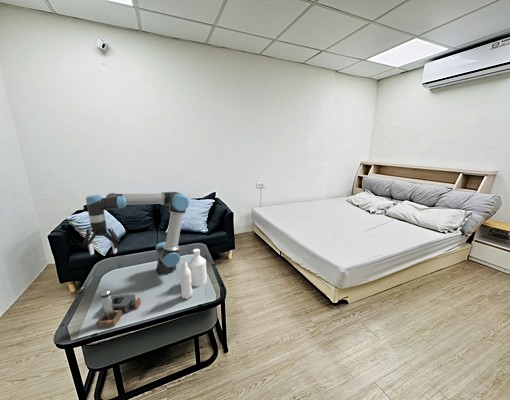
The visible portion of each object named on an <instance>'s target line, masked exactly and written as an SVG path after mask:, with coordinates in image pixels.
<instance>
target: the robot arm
mask: <svg viewBox="0 0 510 400" xmlns="http://www.w3.org/2000/svg"><path fill="white" fill-rule="evenodd" d="M189 200H190V199H189V197H188V196H187V195H185V194H183V193H180V192H178V191H166V192H164V191H163V192H161V193H115V192H110V193H108V194H107V195H106V196H105V197H102V195H100V194H94V195H93V194H92V195H88V196H86V198H85V202H86V208H87V212H88V213H87V214H88V218H89V222H90V228H87V229H86V231H85V232H86V234H85V236H84V238H83V239H84V240H83V242H82V245H86V247H87V250H89V251H88V252H89V256H92V255H94V254H95V249H94V244H93V243H92V242H93V241H94V239H95V238H96V237H105V238H106V239H107V240H109V241H110V242H111V247H112V253H113V254H114V255H115V254H116V253H118V247H119V246H118V243H119V242H120V241H121V239H120V238H119V236H118V235H117V234H116V232H115V231H114V229H113V227H107V221H106V216H105V211H108V210H109V211H110V210H117V209H123V208H126V207H127V206H128V205H157V204H159V205H162V206H169V207H168V212H169V213H170V215H169V220H168V222H169V223H168V226H167V227H168V229H167V234H166V241H162V242H159V243H156V245H155V252H156V253H155V254H156V259H157V264H156V268H155V272H156V274H157V273H158V274H157V275H160V274H165V275H169V274H172V273H174V272H175V271H176V270H177V265H178V264H179V263H180V260H181V255H180V254H179V253H180V246H179V240H180V236H181V233H180V232H181V229H182V224H183V223H182V221H183V216H184V214H186V210H187V209H188V208H189V205H190V201H189ZM91 234H92V235H91ZM174 270H175V271H174ZM173 271H174V272H173ZM171 272H172V273H171ZM168 273H169V274H168Z"/></svg>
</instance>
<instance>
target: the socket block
mask: <svg viewBox="0 0 510 400" xmlns="http://www.w3.org/2000/svg"><path fill="white" fill-rule="evenodd" d="M111 298H112V303H113V308H114V310H122V312H123V314H126V313H127V314H128V313H129V312H131V309H132V308H130V303H131V301H132V300H137V298H136V294H125V295H124V294H121V295H111ZM101 309H102V315H103V314H104V311H103V306H101Z"/></svg>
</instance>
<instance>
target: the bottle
mask: <svg viewBox="0 0 510 400" xmlns="http://www.w3.org/2000/svg"><path fill="white" fill-rule="evenodd" d="M192 253H193V257H192V258H191V259H190V260H189V261H188V268H189V270H190V271H191V280H192V281H191V287H192V286H193V287H202V286H204V285H205V284H207V282H208V276H207V260H206V259H205V258H204V257H203V256H201V254H200V253H201V250H200V249H199V248H194V249H193V250H192Z"/></svg>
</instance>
